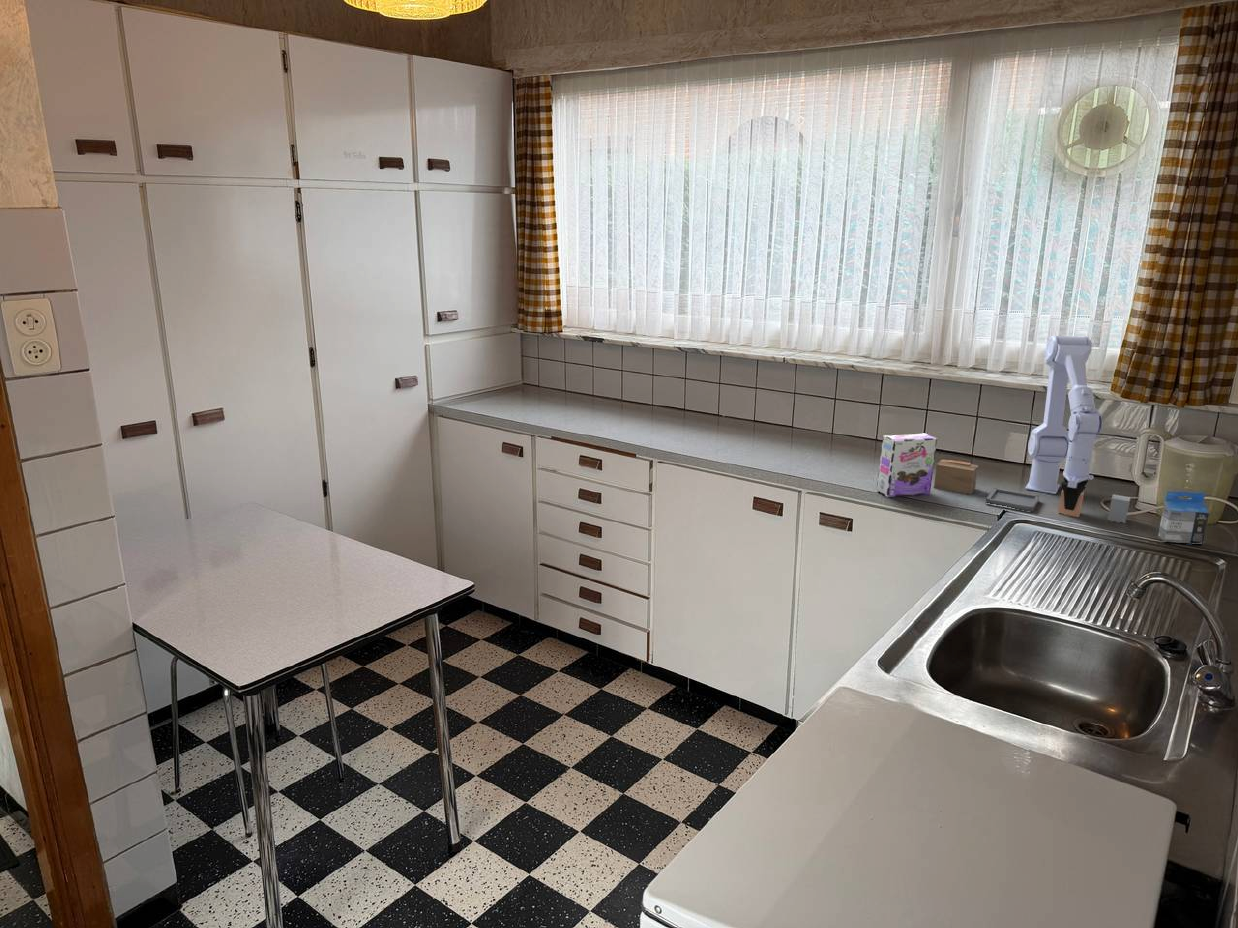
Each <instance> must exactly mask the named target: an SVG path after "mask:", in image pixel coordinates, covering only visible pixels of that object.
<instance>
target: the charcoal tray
mask: <svg viewBox="0 0 1238 928" xmlns="http://www.w3.org/2000/svg"><path fill="white" fill-rule="evenodd" d="M1039 501H1040V495H1038V494H1031V493H1025V492H1020V491H1013V490H1007V489H1003V488H996V487H994V488H993V489H992V490H991V492H990V493H989V494H988V496H987V498H986V499H985V504H986V503H990V504H996V505H1002V506H1007V507H1011V508H1015V509H1019V510H1024V511H1030V512H1032V511H1033V512H1034V510H1035V509H1036V507H1035V506H1037V505H1038V503H1039ZM1036 504H1037V505H1036ZM1034 508H1035V509H1034ZM1024 511H1023V512H1024ZM1033 512H1032V513H1033Z"/></svg>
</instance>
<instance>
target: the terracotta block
mask: <svg viewBox="0 0 1238 928" xmlns="http://www.w3.org/2000/svg"><path fill="white" fill-rule="evenodd" d="M1084 495H1085V491H1084V490H1083V492H1082V493H1081V494H1080V496H1079V498H1078V501H1077V504H1076V506H1075V508H1074V510H1067V509H1065V507H1064V493H1063V489H1062V490H1061V494H1060V498H1059V504H1058V511H1057V514H1058V513H1062V514H1061V515H1063V514H1064V516H1069V517H1074V518H1075V517H1076V518H1080V515H1081V513H1082V506H1083V501H1084Z"/></svg>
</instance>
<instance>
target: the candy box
mask: <svg viewBox="0 0 1238 928" xmlns="http://www.w3.org/2000/svg"><path fill="white" fill-rule="evenodd" d="M937 442H938V438H937V437H935V436H932V435H930V434H928V433H924V432H923V433H914V434H893V435H891V434H890V435H886V434H885V435H883V436H882V442H881V450H880V458H879V467H878V474H877V475H878V476H877V481H876V488H875V489H876V490H877V493H879V492H880V494H881V495H883V496H885V497H886V498H894V497H907V496H906V495H912V496H923V495H922V494H925V495H931V488H932V480H933V475H934V474H933V472H934V465H935V457H936V450H937Z"/></svg>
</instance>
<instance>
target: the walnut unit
mask: <svg viewBox="0 0 1238 928" xmlns="http://www.w3.org/2000/svg"><path fill="white" fill-rule="evenodd" d="M978 471H979V465H978V464H974V463H973V464H972V463H971V462H964V461H959V460H953V459H948V460H947V459H941V460H940V461H939V462H938V463H937V464H936V468H935V476H934V483H933V488H934V489H938V490H945V491H949V490H950V492H954V493H956V492H957V493H960V492H961V494H967V495H971V494H972V493H973V492H974V490H976V485H977V477H978V473H979V472H978Z"/></svg>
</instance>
